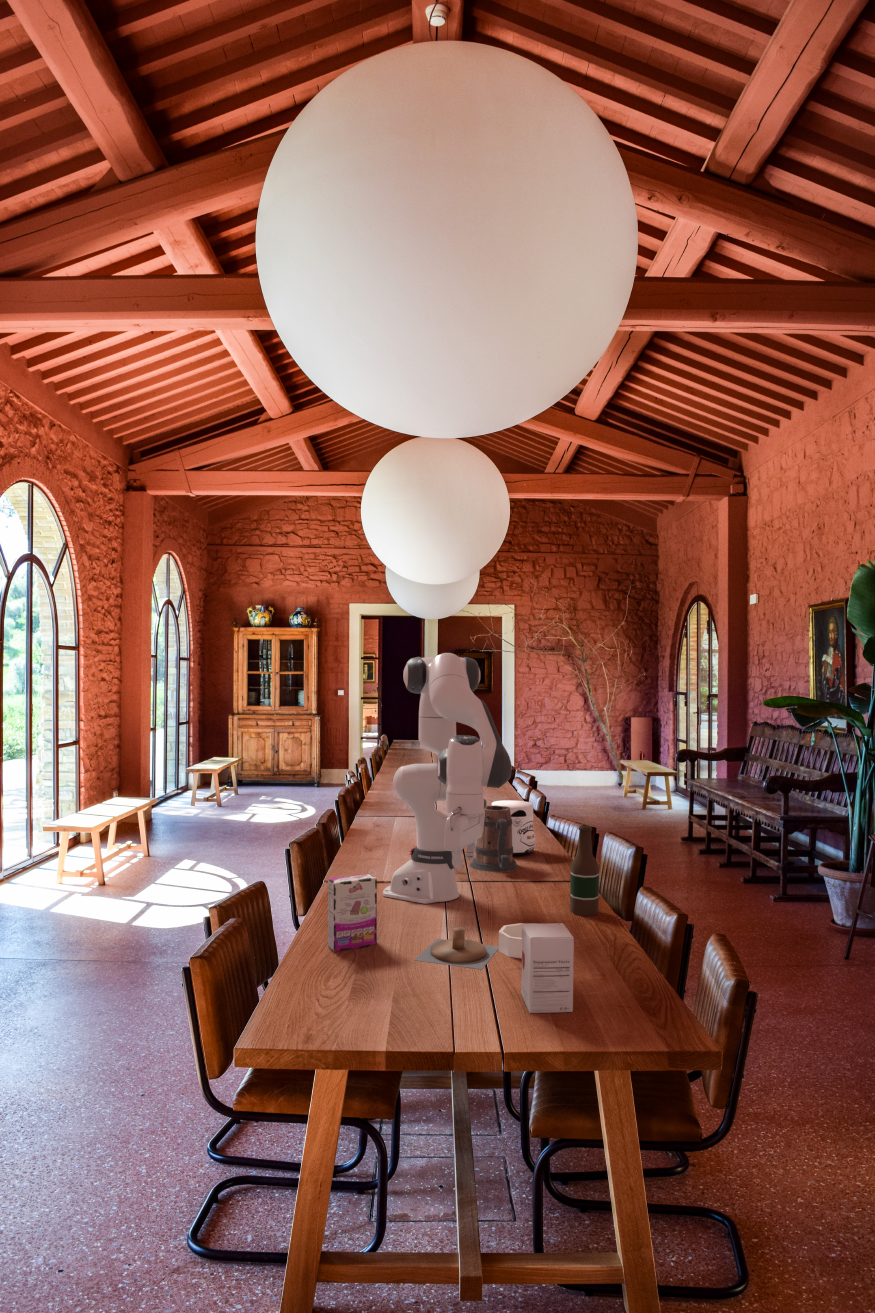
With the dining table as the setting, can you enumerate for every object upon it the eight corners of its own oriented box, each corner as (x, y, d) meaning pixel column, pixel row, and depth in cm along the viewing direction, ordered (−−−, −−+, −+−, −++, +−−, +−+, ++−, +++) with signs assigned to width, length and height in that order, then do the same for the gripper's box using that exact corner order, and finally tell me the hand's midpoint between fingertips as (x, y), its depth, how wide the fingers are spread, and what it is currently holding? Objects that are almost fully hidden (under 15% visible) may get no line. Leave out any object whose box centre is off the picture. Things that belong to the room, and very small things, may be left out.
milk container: (537, 858, 294) (538, 808, 294) (489, 857, 294) (489, 807, 294) (532, 848, 311) (533, 800, 312) (486, 847, 311) (487, 799, 312)
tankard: (464, 860, 289) (465, 803, 289) (511, 859, 292) (512, 802, 292) (480, 877, 266) (480, 815, 266) (530, 876, 269) (531, 814, 269)
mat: (414, 962, 188) (414, 960, 188) (437, 941, 203) (437, 938, 203) (481, 972, 183) (481, 969, 183) (500, 949, 198) (500, 946, 198)
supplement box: (520, 995, 170) (521, 922, 170) (562, 995, 171) (563, 922, 171) (528, 1014, 161) (529, 937, 161) (573, 1013, 162) (574, 936, 162)
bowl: (494, 957, 192) (494, 935, 192) (507, 942, 203) (507, 921, 203) (543, 963, 189) (543, 941, 189) (553, 947, 199) (553, 927, 200)
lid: (422, 958, 189) (423, 934, 189) (440, 941, 201) (441, 918, 201) (477, 966, 185) (477, 941, 185) (492, 948, 197) (492, 924, 197)
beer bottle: (598, 917, 225) (599, 829, 225) (569, 915, 226) (570, 827, 226) (598, 909, 232) (599, 824, 233) (570, 907, 234) (571, 822, 234)
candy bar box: (369, 940, 204) (370, 873, 204) (377, 946, 199) (378, 877, 199) (326, 946, 198) (327, 877, 199) (333, 953, 194) (334, 882, 194)
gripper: (464, 811, 184) (464, 874, 184) (488, 800, 204) (488, 856, 203) (437, 810, 186) (437, 872, 186) (464, 798, 206) (463, 854, 205)
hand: (464, 863), depth 195 cm, fingers open, 8 cm apart
